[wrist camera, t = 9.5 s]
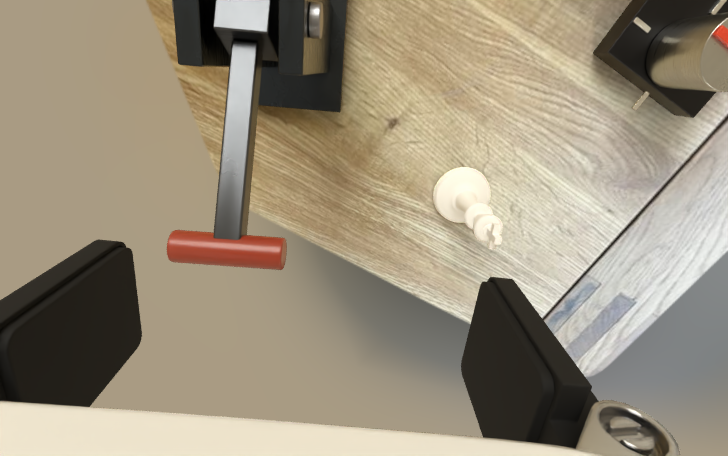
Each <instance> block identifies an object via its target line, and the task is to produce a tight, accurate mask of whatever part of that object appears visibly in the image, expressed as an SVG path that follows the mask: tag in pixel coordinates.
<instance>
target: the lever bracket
mask: <svg viewBox="0 0 728 456" xmlns="http://www.w3.org/2000/svg"><path fill="white" fill-rule="evenodd" d="M347 5H348V0H279V12H278V61H269V60H262V70H261V81H260V92H259V103H258V105H263V106H274V107H286V108H297V109H309V110H320V111H331V112H340V111H341V103H342V87H343V71H344V54H345V38H346V22H347ZM172 7H173V13H174V20H175V32H176V44H177V56H178V64H180V65H189V66H200V67H229V66H230V55H229V54H228V52H227V50H226V49H225V47H224V46H223V44H222V42H221V41H220V39H219V37H218V36H217V34H216V32H215V31H214V29H213V19H214V9H215V0H172Z"/></svg>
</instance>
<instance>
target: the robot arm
mask: <svg viewBox="0 0 728 456" xmlns="http://www.w3.org/2000/svg"><path fill="white" fill-rule="evenodd" d="M141 337H142V331H141V323H140V314H139V305H138V296H137V288H136V279H135V271H134V262H133V254H132V251H131V249H130V248H126V246H125V244H124V243H123V242H118V241H107V240H96V241H94V242H92V243H91V244H89V245H88V246H86V247H84V248H83V249H81V250H80V251H78V252H76V253H75V254H73V255H72V256H70V257H68V258H67V259H65V260H64V261H62V262H60V263H59V264H57V265H56V266H54V267H53V268H51V269H49V270H48V271H46V272H45V273H43V274H42V275H40V276H38V277H37V278H35V279H34V280H32V281H30V282H29V283H27V284H25V285H24V286H22V287H21V288H19V289H18V290H16V291H14V292H13V293H11V294H10V295H8V296H7V297H5V298H3V299H2V300H0V456H680V451H679V447H678V444H677V443H676V441H675V439H674V438H673V436H672V435H671V434H670V433H669V432H668V430H667V429H665V427H664V426H663V425H661V424H660V423H659V422H658V421H656V420H655V419H654V418H652V417H651V416H649V415H648V414H646V413H645V412H643V411H641V410H639V409H638V408H635V407H633V406H630V405H628V404H625V403H622V402H617V401H613V400H602V401H598V400H597V399H596V397H595V396H594V394H593V393H592V392H591V388H592V386H591V385H590V383H589V382H588V380H587V379H586V378H585V376H584V375H583V374H582V372H581V371H580V370H579V368H578V367H577V366H576V364H575V363H574V361H573V360H572V359H571V357H570V356H569V355H568V353H567V352H566V351H565V349H564V348H563V347H562V345H561V344H560V343H559V341H558V340H557V338H556V337H555V336H554V334H553V333H552V332H551V330H550V329H549V328H548V326H547V325H546V324H545V322H544V321H543V319H542V318H541V317H540V315H539V314H538V313H537V311H536V310H535V309H534V307H533V306H532V305H531V303H530V302H529V301H528V299H527V298H526V296H525V295H524V294H523V292H522V291H521V290H520V288H519V287H518V286H517V284H516V283H515V282H514V280H512V279H506V278H496V277H490V278H489V279H488V281H487V282H482V284H481V286H480V289H479V293H478V297H477V301H476V305H475V309H474V313H473V317H472V321H471V325H470V329H469V334H468V338H467V342H466V346H465V350H464V354H463V358H462V363H461V370H462V376H463V379H464V382H465V385H466V388H467V391H468V394H469V397H470V400H471V403H472V405H473V408H474V411H475V414H476V417H477V420H478V423H479V426H480V429H481V432H482V435H483V437H472V436H460V435H447V434H435V433H423V432H410V431H398V430H387V429H374V428H362V427H348V426H336V425H323V424H311V423H298V422H285V421H272V420H259V419H246V418H233V417H219V416H206V415H192V414H179V413H165V412H151V411H138V410H124V409H110V408H95V407H90V405H91V404H92V403H93V402H94V400H95V399H96V398H97V397H98V396H99V394H100V393H101V392H102V391H103V390H104V388H105V387H106V386H107V384H108V383H109V382H110V381H111V380H112V378H113V377H114V376H115V374H116V373H117V372H118V371H119V370H120V369H121V367H122V366H123V365H124V364H125V363H126V361H127V360H128V359H129V358H130V356H131V355H132V354H133V353H134V351H135V350H136V349H137V347H138V346H139V344H140V341H141Z"/></svg>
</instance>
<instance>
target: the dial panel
mask: <svg viewBox="0 0 728 456" xmlns="http://www.w3.org/2000/svg"><path fill="white" fill-rule="evenodd" d="M727 12H728V0H632V1H631V3H630V4H629V5H628V7H627V8H626V9H625V11H624V12H623V13H622V15H621V16H620V17H619V19H618V20H617V21H616V23H615V24H614V25H613V27H612V28H611V29H610V31H609V32H608V33H607V35H606V36H605V38H604V39H603V40H602V42H601V43H600V44H599V46H598V47H597V48H596V50H595V51H594V52H593V54H595V55H596V56H597V57H599V58H600V59H601V60H603V61H604V62H605V63H607V64H608V65H609V66H610V67H612V68H613V69H614V70H616V71H617V72H618V73H620V74H621V75H622V76H624V77H625V78H626V79H628V80H629V81H630V82H632V83H633V84H634V85H636V86H637V87H638V88H640V89H641V90H642V91H644V93H643V95H642V96H641V97H640V98H639V99H638V101H637V102H636V103H635V104H634V106H633V107H632V108H633V109H634V110H637V109H638V108H639V106H640V105H641V104H642V103H643V102H644V100H645V99H646V98H647V97H648V96H650V97H651V98H653V99H654V100H655V101H657V102H658V103H659V104H661V105H662V106H663V107H665V108H666V109H667V110H669V111H670V112H671V113H673V114H674V115H678V116H685V117H692V118H694V117H695V116H696V114H697V113H698V112H699V111H700V110H701V109H702V108H703V106H704V105H705V104H706V103H707V102H708V101H709V100H710V98H711V97H712V96H713V95H714V94H715V93H716V91H700V90H685V89H669V88H663V87H660V86H658V85H656V84H655V83H654V82H653V81H652V80H651V79H650V77H649V75H648V73H647V69H646V58H647V53H648V50H649V48H650V46H651V44H652V42H653V40H654V39H655V37H656V36H657V35H658V34H659V33H660V32H661V31H662V30H663V29H664V28H665V27H667V26H668V25H670V24H672V23H674V22H676V21H678V20H682V19H688V18H695V17H701V16H708V15H714V14H721V13H727Z"/></svg>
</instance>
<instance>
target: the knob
mask: <svg viewBox="0 0 728 456" xmlns="http://www.w3.org/2000/svg"><path fill="white" fill-rule="evenodd" d="M646 69H647V73H648V75H649V77H650V79H651V80H652V81H653V82H654V83H655V84H656V85H658V86H660V87H663V88H669V89H685V90H700V91H716V92H728V12H727V13H721V14H714V15H708V16H701V17H695V18H688V19H682V20H678V21H676V22H674V23H672V24H670V25H668V26H667V27H665V28H664V29H663V30H662V31H661V32H660V33H659V34H658V35H657V36H656V37H655V39H654V40H653V42H652V44H651V46H650V48H649V50H648V53H647V58H646Z"/></svg>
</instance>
